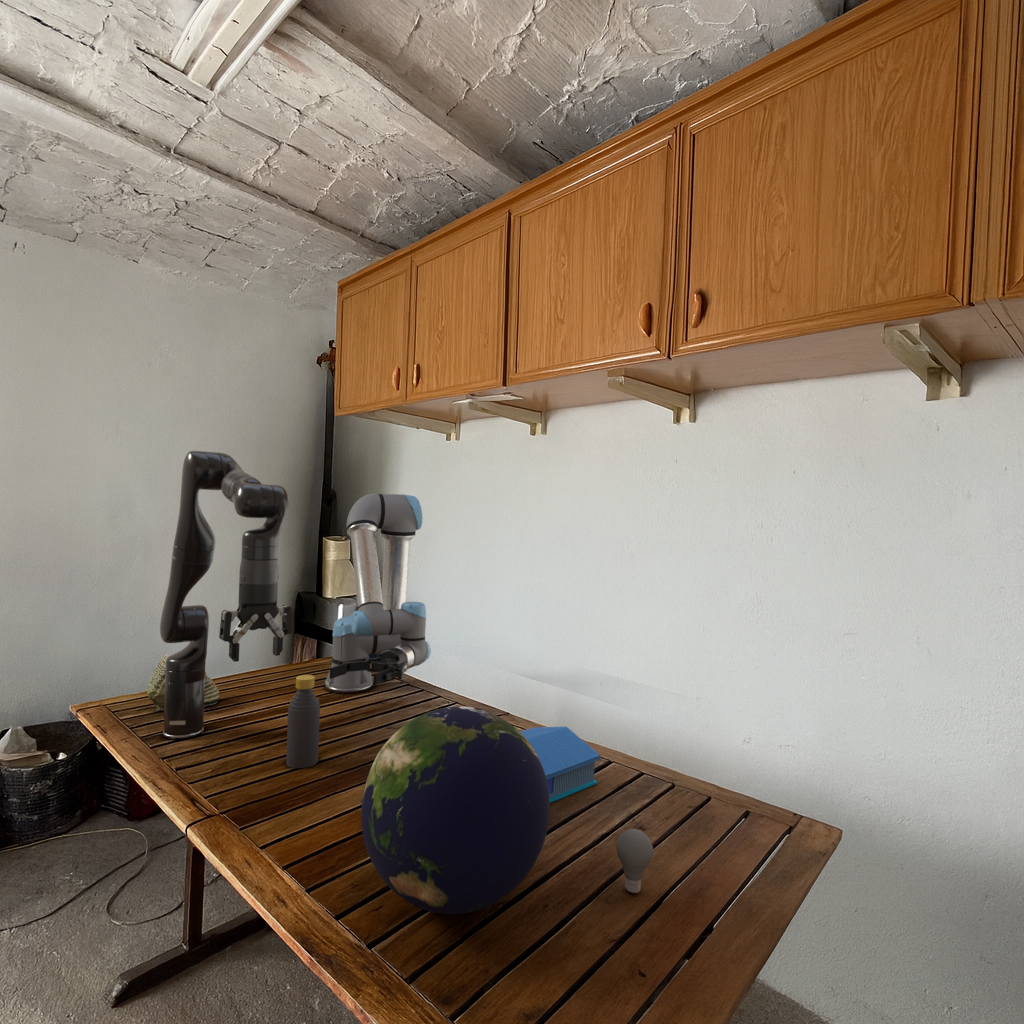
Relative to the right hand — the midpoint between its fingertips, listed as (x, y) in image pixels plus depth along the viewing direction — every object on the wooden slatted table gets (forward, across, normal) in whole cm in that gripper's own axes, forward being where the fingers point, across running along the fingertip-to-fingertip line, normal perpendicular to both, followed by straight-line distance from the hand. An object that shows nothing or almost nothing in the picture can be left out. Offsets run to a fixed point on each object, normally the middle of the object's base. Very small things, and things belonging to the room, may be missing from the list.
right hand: (352, 676), depth 165 cm
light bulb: (+33, -79, -19) cm, 88 cm away
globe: (+47, -53, -19) cm, 73 cm away
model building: (+9, -48, -18) cm, 52 cm away
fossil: (0, +58, -16) cm, 60 cm away
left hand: (+35, 0, +12) cm, 37 cm away
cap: (+16, +2, +3) cm, 17 cm away
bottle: (+16, +2, -17) cm, 23 cm away
